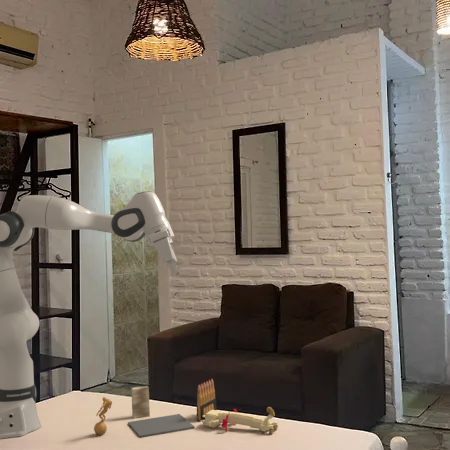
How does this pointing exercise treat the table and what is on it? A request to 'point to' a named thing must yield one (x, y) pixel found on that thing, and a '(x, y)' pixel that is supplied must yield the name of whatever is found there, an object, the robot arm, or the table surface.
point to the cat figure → (240, 420)
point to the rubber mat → (160, 425)
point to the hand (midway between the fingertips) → (176, 275)
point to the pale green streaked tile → (140, 402)
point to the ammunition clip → (205, 399)
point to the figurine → (101, 426)
